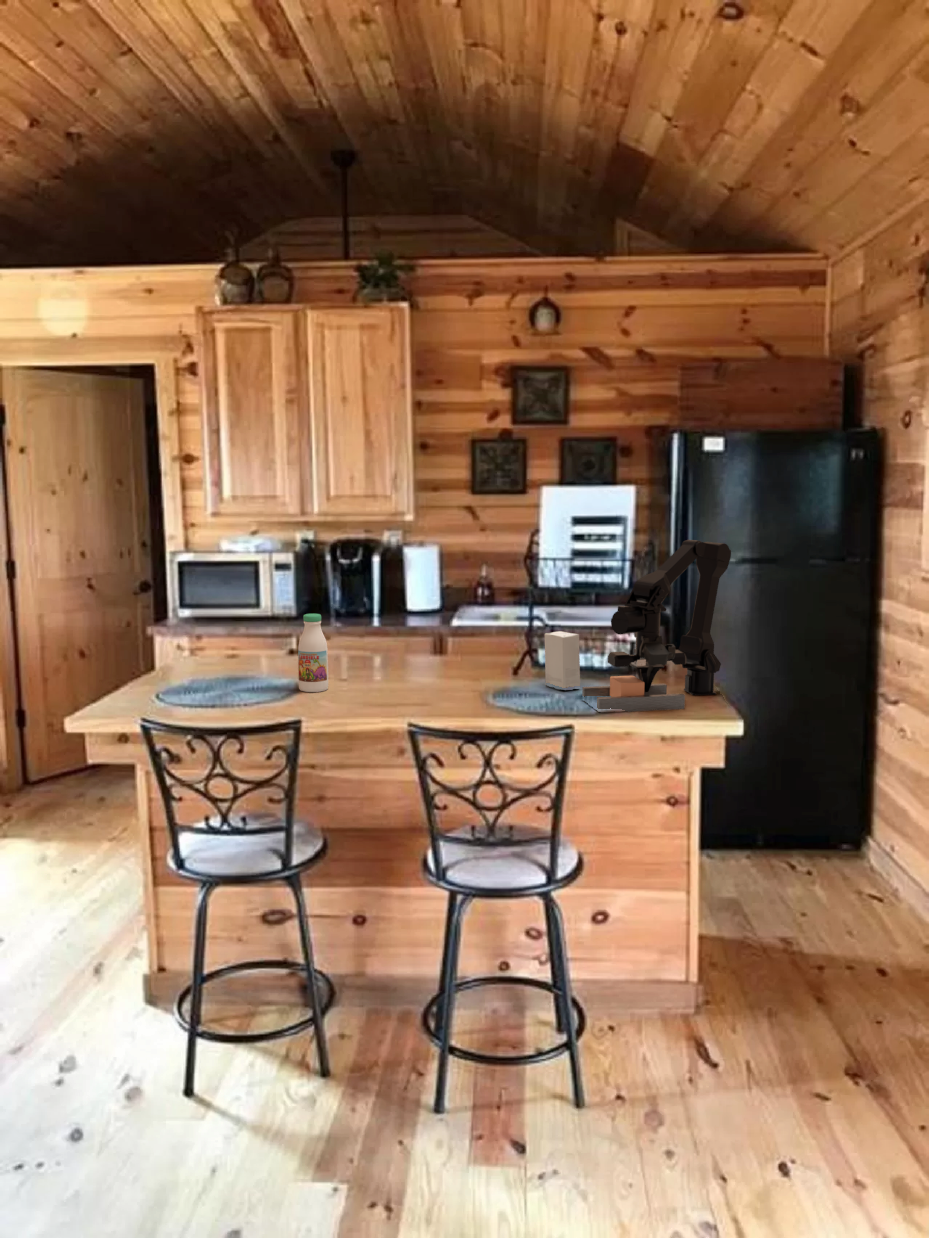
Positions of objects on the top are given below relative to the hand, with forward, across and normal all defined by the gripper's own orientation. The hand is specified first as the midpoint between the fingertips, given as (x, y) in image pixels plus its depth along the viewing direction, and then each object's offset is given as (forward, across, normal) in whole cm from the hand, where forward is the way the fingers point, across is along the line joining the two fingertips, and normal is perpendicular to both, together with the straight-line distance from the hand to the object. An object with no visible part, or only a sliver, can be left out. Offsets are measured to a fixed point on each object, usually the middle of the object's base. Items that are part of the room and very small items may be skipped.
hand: (645, 692), depth 259 cm
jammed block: (+2, -5, 0) cm, 5 cm away
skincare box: (+3, -15, +21) cm, 26 cm away
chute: (+3, -3, 0) cm, 5 cm away
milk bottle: (+3, -80, +32) cm, 86 cm away
